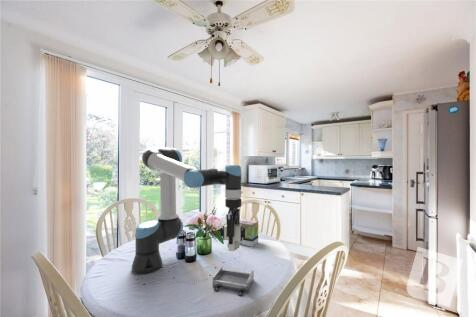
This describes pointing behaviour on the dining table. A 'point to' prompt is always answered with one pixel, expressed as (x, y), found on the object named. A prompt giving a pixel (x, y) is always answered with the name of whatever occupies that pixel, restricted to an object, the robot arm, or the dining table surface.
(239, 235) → the pneumatic valve
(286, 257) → the dining table surface
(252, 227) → the tea box
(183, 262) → the dining table surface
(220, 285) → the wheeled cart
